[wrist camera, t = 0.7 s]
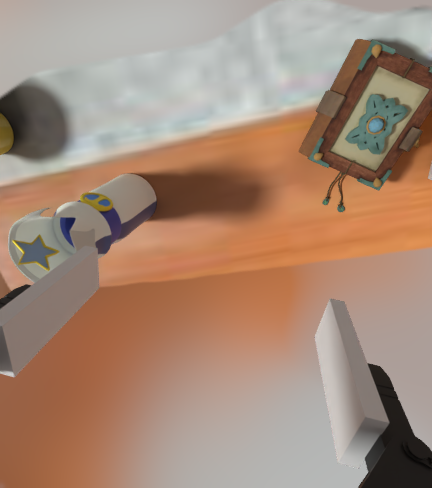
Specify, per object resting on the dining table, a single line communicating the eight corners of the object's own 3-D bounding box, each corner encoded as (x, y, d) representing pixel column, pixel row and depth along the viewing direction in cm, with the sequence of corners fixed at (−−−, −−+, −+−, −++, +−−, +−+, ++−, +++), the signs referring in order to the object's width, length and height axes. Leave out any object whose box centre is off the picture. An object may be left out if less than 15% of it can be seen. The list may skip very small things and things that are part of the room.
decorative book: (277, 183, 40) (278, 193, 36) (350, 39, 32) (363, 28, 28) (365, 222, 41) (376, 236, 36) (459, 88, 33) (488, 86, 28)
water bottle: (112, 159, 43) (-64, 218, 20) (165, 185, 43) (49, 270, 21) (99, 208, 46) (-60, 302, 24) (149, 231, 47) (36, 346, 24)
